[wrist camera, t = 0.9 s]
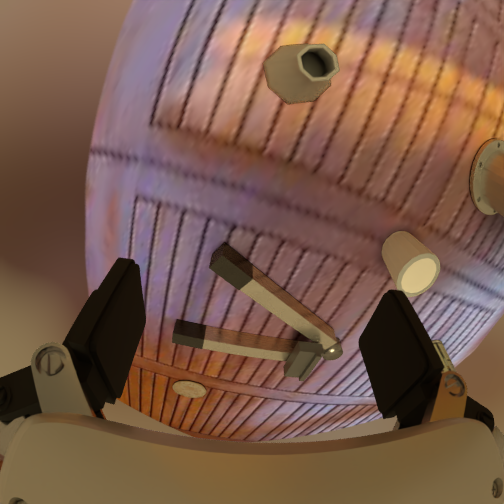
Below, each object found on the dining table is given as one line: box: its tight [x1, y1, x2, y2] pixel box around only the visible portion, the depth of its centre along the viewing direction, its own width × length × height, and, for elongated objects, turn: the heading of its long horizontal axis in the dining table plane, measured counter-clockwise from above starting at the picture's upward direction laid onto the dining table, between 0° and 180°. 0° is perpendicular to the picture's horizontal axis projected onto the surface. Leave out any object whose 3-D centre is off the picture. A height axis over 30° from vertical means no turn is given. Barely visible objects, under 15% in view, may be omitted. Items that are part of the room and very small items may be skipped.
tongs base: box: [172, 319, 343, 361], centre depth 43 cm, size 29×4×3 cm, turn 76°
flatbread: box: [173, 381, 206, 398], centre depth 55 cm, size 8×8×1 cm
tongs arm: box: [209, 242, 337, 350], centre depth 39 cm, size 24×2×3 cm, turn 46°
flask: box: [263, 44, 340, 104], centre depth 20 cm, size 7×7×10 cm
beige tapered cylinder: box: [381, 231, 440, 297], centre depth 33 cm, size 7×7×7 cm
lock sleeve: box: [284, 341, 324, 381], centre depth 41 cm, size 4×7×3 cm, turn 166°
